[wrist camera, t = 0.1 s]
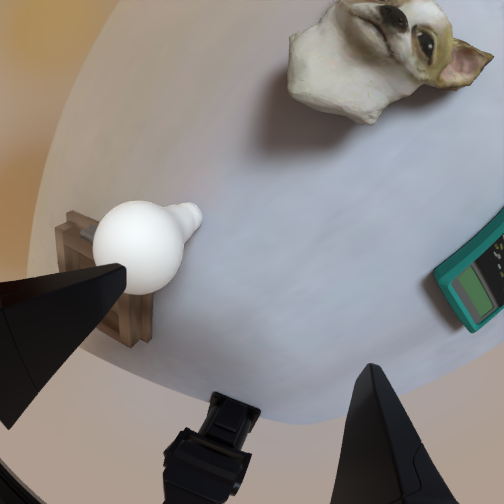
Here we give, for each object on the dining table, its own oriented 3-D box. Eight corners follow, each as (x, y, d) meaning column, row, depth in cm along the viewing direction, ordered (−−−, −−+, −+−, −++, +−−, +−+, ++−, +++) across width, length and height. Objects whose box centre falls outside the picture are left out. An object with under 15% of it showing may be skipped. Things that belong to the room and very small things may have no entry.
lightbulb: (155, 193, 26) (62, 234, 16) (209, 168, 23) (117, 200, 13) (180, 253, 27) (103, 316, 18) (236, 236, 25) (166, 306, 15)
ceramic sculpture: (212, 20, 11) (411, -86, 4) (255, 60, 18) (393, -28, 12) (362, 183, 12) (541, 49, 6) (348, 167, 20) (482, 70, 14)
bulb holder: (151, 338, 34) (136, 355, 31) (78, 296, 36) (62, 308, 33) (156, 245, 28) (134, 259, 25) (72, 209, 30) (50, 218, 27)
